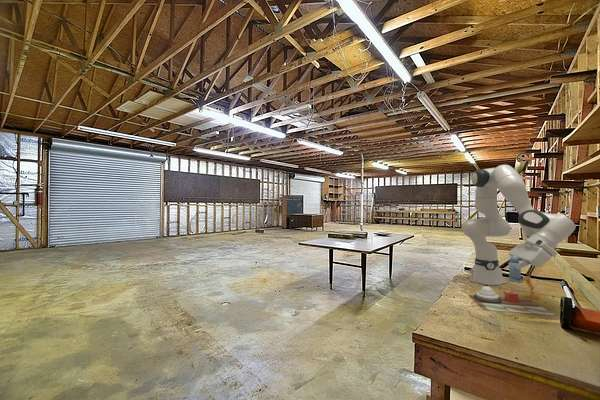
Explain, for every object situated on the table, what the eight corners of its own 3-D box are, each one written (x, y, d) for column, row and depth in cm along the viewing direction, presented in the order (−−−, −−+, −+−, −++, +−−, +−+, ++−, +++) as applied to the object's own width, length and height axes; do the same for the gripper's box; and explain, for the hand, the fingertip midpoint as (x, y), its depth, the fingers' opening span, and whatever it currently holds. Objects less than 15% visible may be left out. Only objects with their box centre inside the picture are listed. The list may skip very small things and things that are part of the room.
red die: (504, 299, 130) (504, 290, 130) (514, 299, 129) (514, 291, 129) (508, 302, 126) (508, 293, 126) (518, 302, 125) (518, 293, 125)
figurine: (539, 304, 127) (538, 278, 127) (523, 301, 131) (521, 276, 131) (541, 299, 132) (540, 275, 133) (525, 297, 137) (524, 273, 137)
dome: (473, 293, 135) (473, 283, 136) (494, 294, 133) (493, 284, 133) (480, 299, 127) (479, 288, 127) (502, 300, 124) (501, 289, 125)
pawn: (505, 278, 121) (504, 254, 121) (519, 279, 120) (518, 255, 120) (511, 281, 116) (510, 256, 116) (525, 282, 115) (524, 257, 115)
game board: (467, 297, 138) (467, 292, 138) (527, 301, 130) (527, 296, 131) (483, 313, 116) (483, 308, 116) (556, 319, 109) (556, 313, 109)
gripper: (519, 237, 127) (496, 257, 129) (546, 243, 107) (518, 266, 109) (531, 247, 125) (507, 267, 128) (560, 254, 106) (532, 278, 108)
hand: (513, 267), depth 118 cm, fingers closed on pawn, 4 cm apart
